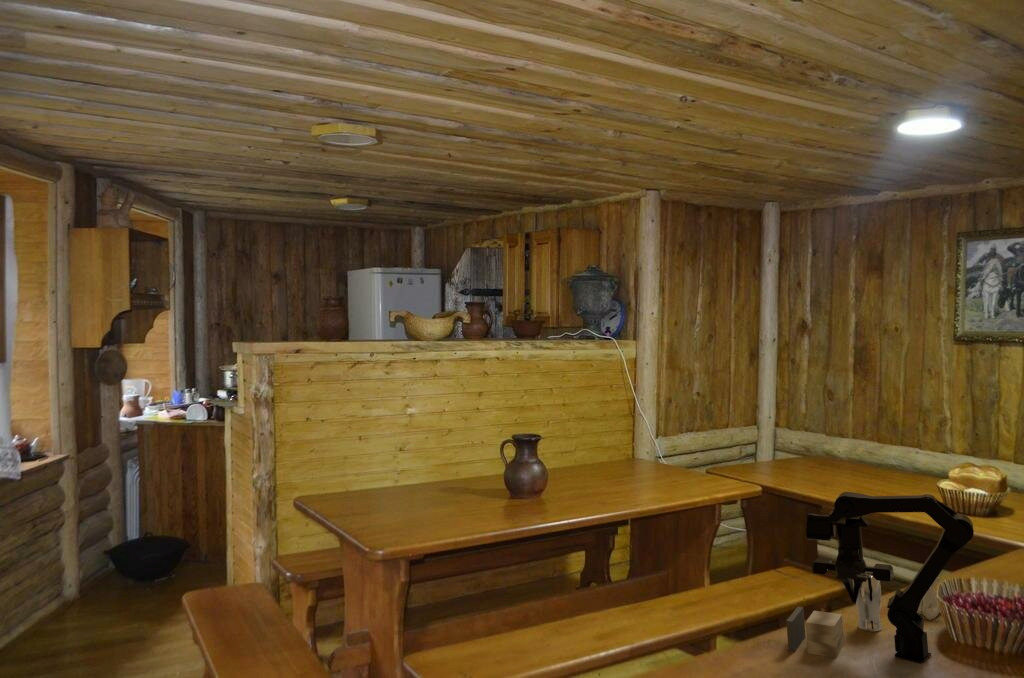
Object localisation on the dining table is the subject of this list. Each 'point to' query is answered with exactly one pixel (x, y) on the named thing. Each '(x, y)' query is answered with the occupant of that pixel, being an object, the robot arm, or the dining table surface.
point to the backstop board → (795, 629)
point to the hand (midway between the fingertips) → (854, 602)
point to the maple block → (824, 634)
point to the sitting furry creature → (930, 603)
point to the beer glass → (869, 605)
